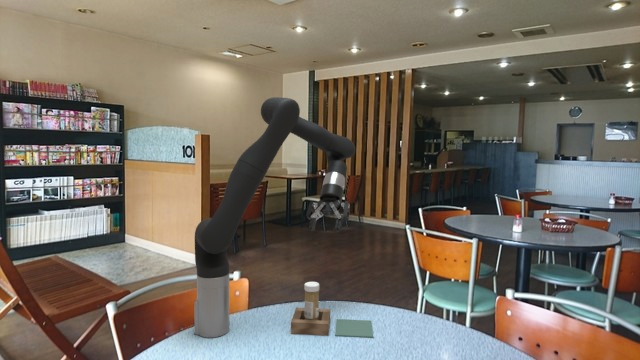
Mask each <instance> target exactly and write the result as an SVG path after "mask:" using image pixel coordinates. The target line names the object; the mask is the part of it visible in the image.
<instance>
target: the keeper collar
mask: <svg viewBox="0 0 640 360" xmlns="http://www.w3.org/2000/svg"><path fill="white" fill-rule="evenodd" d="M304 308H305V307H296V308H295V310H294V313H293V315H292V318H291V321H290V335H301V336H302V335H305V336H306V335H308V336H324V337H325V336H327V337H328V336H329V335H330V325H331V308H319V319H318V320H305V316H304Z"/></svg>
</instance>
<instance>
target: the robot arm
mask: <svg viewBox="0 0 640 360" xmlns="http://www.w3.org/2000/svg"><path fill="white" fill-rule="evenodd" d="M300 113H301V108H300V104H299V102H297V101H296V99H293V98H288V97H277V96H274V97H270V98H268V99H266V100H265V101H263V103H262V104H261V107H260V115H261V119H262V120H263V122H265V124H267V127H266V128H265V130H264V132H263V133H262V135H261V136H260V137H259V138H258V139H257V140H255V141H254V143H252V144H251V145H249V146H248V147H247V148H246V150H244V151H243V152H242V153H241V155H240V156H239V157H238V159H237V160H236V161H237V162H236V163H235V165H234V166H233V169H232V170H231V172H230V174H229V177H228V180H227V183H226V187H225V190H224V194H223V198H222V200H221V203H220V204H219V206H218V208H217V210H216V211H215V213H214V215H213V216H212V217H207V218H205V219H203V220H201V221H199V223H198V224H197V226H196V227H195V231H194V261H195V268H196V300H195V301H194V303H193V305H194V307H193V308H194V309H193V310H194V318H193V319H194V326H193V327H194V335H198V336H200V337H202V338H218V337H221V336H224V335H226V334H228V332H230V324H231V323H230V262H229V259H228V255H227V249H228V248H229V246H230V245H231V244H232V241H233V239H234V237H235V234H236V232H237V229H238V227H239V224H240V222H241V220H242V218H243V216H244V214H245V212H246V210H247V208H248V206H249V204H251V202H252V199H253V198H254V196H255V194H256V193H257V190H258V189H259V188H260V185H261V184H262V182H263V180H264V178H265V176H266V174H267V172H268V170H269V168H270V166H271V165H272V163H273V161H274V160H275V158H276V156H277V154H278V153H279V150H280V149H281V147H282V146H283V144H284V142H285V141H286V139H287V138H288V136H289V135H290V134H292V135H294V136H297V137H298V138H300V139H301V140H304V141H305V142H307V143H309V144H310V145H312V146H314V147H315V148H317V149H319V150H320V151H322V152H325V153H326V161H327V162H326V163H327V167H326V172H325V176H324V178H323V182H322V187H321V190H320V196H319V200H318V202H314V201H313V200H311V201H310V202H309V204H308V208H307V211H306V215H305V216H306V217H307V219H308V220H309V225H308V226H309V229H310V231H311V232H315V229H316V227H317V226H316V224H317V221H318V220H319V219H320V218H322V217H323V216H334V215H335V216H336V221H335V225H334V231H335V232H336V233H339V232H340V231H341V230H342V224H343V223H344V222H345V221H349V219H350V211H351V210H350V209H351V205H350V203H349V201H348V200H346V201H344V202H343V201H342V200H343V195H344V190H345V185H346V176H347V171H348V167H347V164H346V162H344V161H343V160H347V159H350V158H352V157H353V156H354V155H355V153H356V146H355V145H356V144H354V142H353V141H352V140H351V139H350V138H348V137H345V136H342V135H338V134H337V133H336V134H335V133H332V132H331V131H329V130H328V129H326V128H324V127H323V126H321V125H320V124H318V123H315V122H313V121H310V120H307V119H305V118H303V117H301V116H300ZM341 208H342V209H343V212H342V215H341V214H340V212H339V211H340V210H341Z"/></svg>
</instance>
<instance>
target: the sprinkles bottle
mask: <svg viewBox="0 0 640 360" xmlns="http://www.w3.org/2000/svg"><path fill="white" fill-rule="evenodd" d="M303 286H304V307H303V308H304V316H305V320H318V319H319V309H320V308H319V304H320V302H319V301H320V300H319V295H320V294H319V293H320V283H319V282H317V281H306V282H305V283H304V285H303Z"/></svg>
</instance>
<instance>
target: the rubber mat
mask: <svg viewBox="0 0 640 360" xmlns="http://www.w3.org/2000/svg"><path fill="white" fill-rule="evenodd" d="M334 333H335V335H334V336H335V337H343V338H344V337H347V338H348V337H349V338H367V339H374V331H373V323H372V320H371V319H370V320H368V319H364V320H362V319H346V318H342V319H341V318H336V321H335V332H334Z"/></svg>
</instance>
